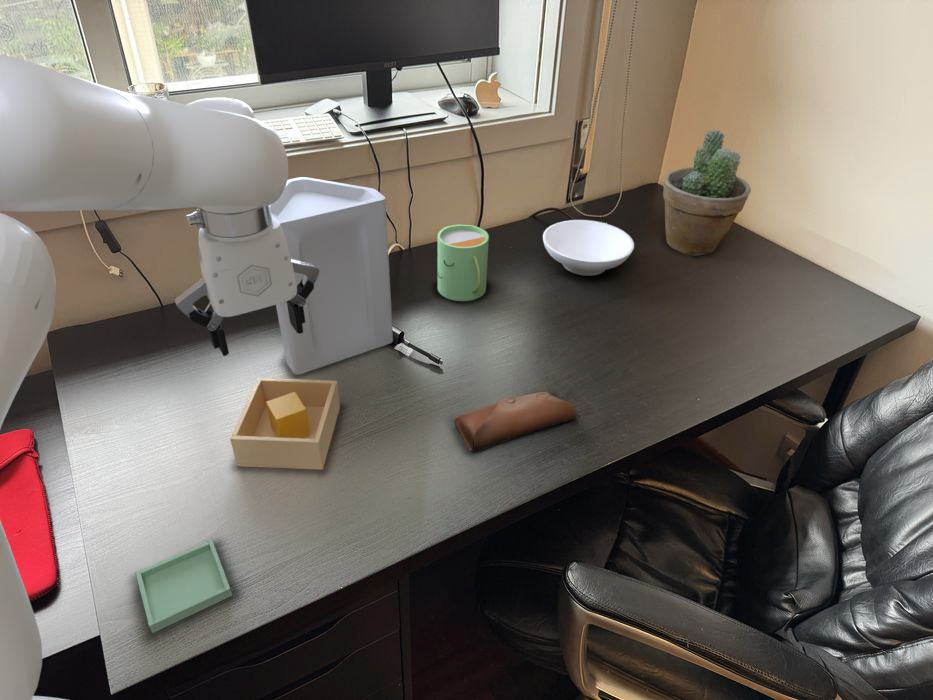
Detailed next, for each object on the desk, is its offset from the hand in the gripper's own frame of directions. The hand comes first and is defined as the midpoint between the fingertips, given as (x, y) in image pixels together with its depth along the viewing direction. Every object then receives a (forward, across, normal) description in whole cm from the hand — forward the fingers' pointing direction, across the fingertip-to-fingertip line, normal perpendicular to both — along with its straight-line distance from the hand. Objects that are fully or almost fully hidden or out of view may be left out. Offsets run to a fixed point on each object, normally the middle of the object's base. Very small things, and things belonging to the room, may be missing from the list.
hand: (261, 338), depth 82 cm
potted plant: (+20, +105, +16) cm, 108 cm away
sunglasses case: (+21, +33, -12) cm, 41 cm away
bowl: (+20, +76, +20) cm, 81 cm away
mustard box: (+20, +2, +3) cm, 20 cm away
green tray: (+21, -18, -15) cm, 31 cm away
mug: (+20, +47, +25) cm, 57 cm away
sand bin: (+20, +2, +3) cm, 21 cm away
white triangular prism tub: (+20, +17, +24) cm, 35 cm away
